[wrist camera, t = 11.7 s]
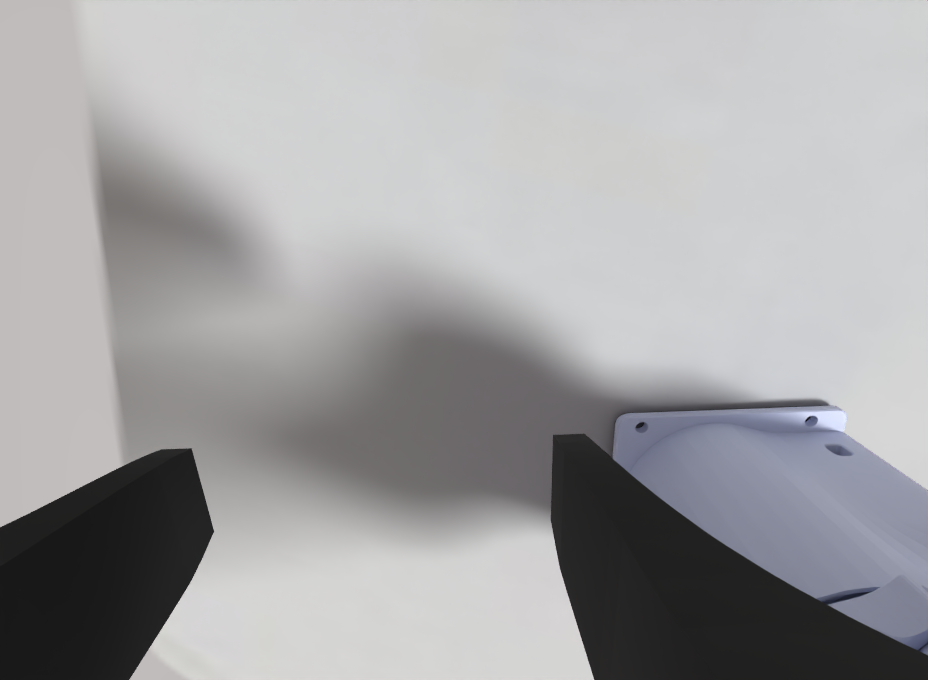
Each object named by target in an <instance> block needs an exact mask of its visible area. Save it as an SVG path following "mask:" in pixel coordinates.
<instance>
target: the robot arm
mask: <svg viewBox="0 0 928 680" xmlns="http://www.w3.org/2000/svg"><path fill="white" fill-rule="evenodd" d="M809 416H811V418H810V419H809V420H808V421H806V422H805V420H806V419H807V418H808V417H809ZM846 421H847V414H846V412H845V411H843V410H842V409H840V408H838V407H837V406H810V407H784V408H757V409H730V410H703V411H677V412H650V413H627V414H623V415H621V416H620V417H619V418H618V419H617V420H616V423H615V433H614V446H613V458H611V457H610V456H609V455H608V454H607V453H606V452H605V451H603V450H602V449H601V448H600V447H599V446H598V445H597V444H596V443H594V442H593V441H592V440H591V439H590V438H589V437H587V436H586V435H585V434H569V435H553V462H552V499H551V523H552V528H553V534H554V539H555V545H556V550H557V555H558V560H559V565H560V570H561V573H562V576H563V580H564V583H565V586H566V590H567V593H568V596H569V599H570V603H571V606H572V609H573V612H574V616H575V619H576V622H577V625H578V629H579V632H580V635H581V638H582V641H583V645H584V648H585V651H586V654H587V657H588V661H589V664H590V667H591V670H592V674H593V677H594V680H928V490H927V489H925V488H924V487H922V486H921V485H919V484H918V483H916V482H915V481H913V480H912V479H911V478H909V477H908V476H906V475H905V474H903V473H902V472H900V471H899V470H897V469H896V468H895V467H893V466H892V465H890V464H889V463H887V462H886V461H884V460H883V459H881V458H880V457H879V456H877V455H876V454H874V453H873V452H871V451H870V450H868V449H867V448H865V447H864V446H863V445H861V444H860V443H858V442H857V441H855V440H854V439H852V438H851V437H850V436H848V435H847V434H845V433H844V428H845V425H846ZM640 422H645V423H644V426H642V427H641V428H635V427H636V425H637V424H638V423H640ZM213 533H214V530H213V526H212V522H211V519H210V515H209V511H208V507H207V504H206V500H205V496H204V493H203V489H202V485H201V482H200V478H199V474H198V471H197V467H196V463H195V459H194V456H193V452H192V448H191V449H164V450H159V451H156V452H154V453H151V454H149V455H146V456H144V457H142V458H139V459H137V460H135V461H133V462H131V463H129V464H127V465H124V466H122V467H120V468H118V469H116V470H114V471H112V472H110V473H108V474H106V475H104V476H102V477H100V478H98V479H96V480H94V481H92V482H90V483H88V484H86V485H84V486H83V487H80V488H79V489H76V490H75V491H73V492H71V493H69V494H67V495H65V496H63V497H61V498H59V499H57V500H55V501H53V502H51V503H49V504H47V505H45V506H43V507H41V508H39V509H37V510H35V511H33V512H31V513H30V514H27V515H25V516H23V517H21V518H19V519H17V520H15V521H13V522H11V523H9V524H6V525H4V526H2V527H0V680H129V679H130V677H131V676H132V674H133V673H134V671H135V670H136V668H137V667H138V665H139V663H140V662H141V660H142V659H143V657H144V656H145V654H146V652H147V651H148V649H149V648H150V646H151V645H152V643H153V641H154V640H155V638H156V637H157V635H158V634H159V632H160V630H161V629H162V627H163V626H164V624H165V623H166V621H167V619H168V618H169V616H170V615H171V613H172V611H173V610H174V608H175V606H176V605H177V603H178V602H179V600H180V598H181V597H182V595H183V594H184V592H185V590H186V589H187V587H188V585H189V584H190V582H191V580H192V578H193V576H194V574H195V572H196V570H197V568H198V566H199V564H200V562H201V560H202V558H203V555H204V553H205V551H206V549H207V546H208V544H209V542H210V539H211V537H212V535H213Z"/></svg>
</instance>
